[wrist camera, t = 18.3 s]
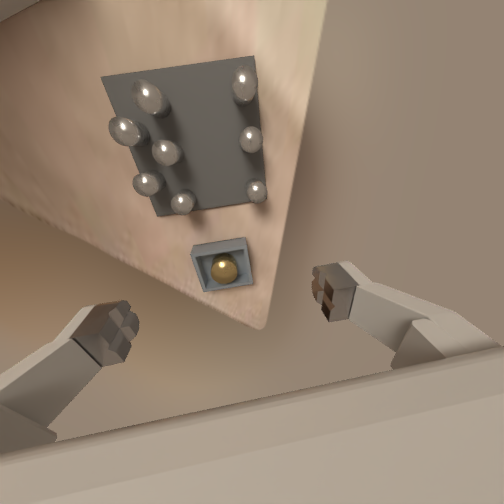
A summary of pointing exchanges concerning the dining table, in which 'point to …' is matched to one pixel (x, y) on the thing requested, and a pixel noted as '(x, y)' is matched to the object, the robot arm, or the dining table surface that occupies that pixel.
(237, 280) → the tray
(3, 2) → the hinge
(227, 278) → the knob
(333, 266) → the robot arm
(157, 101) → the spacers
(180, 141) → the mat
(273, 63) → the dining table surface
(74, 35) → the dining table surface
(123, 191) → the dining table surface
